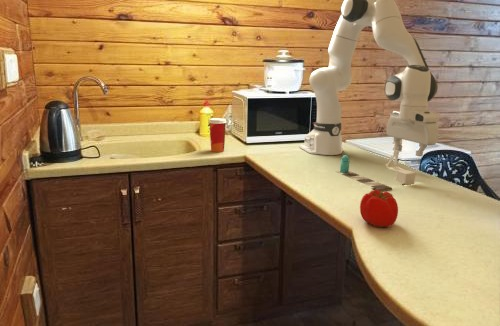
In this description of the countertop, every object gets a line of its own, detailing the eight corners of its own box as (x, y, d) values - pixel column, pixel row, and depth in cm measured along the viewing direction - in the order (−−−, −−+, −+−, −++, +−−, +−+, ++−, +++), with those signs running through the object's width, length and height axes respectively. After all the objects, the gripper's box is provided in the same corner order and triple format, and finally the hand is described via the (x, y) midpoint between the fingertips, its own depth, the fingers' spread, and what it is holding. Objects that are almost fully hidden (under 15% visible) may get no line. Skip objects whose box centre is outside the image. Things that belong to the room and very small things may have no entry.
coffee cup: (216, 148, 198) (216, 117, 194) (229, 150, 193) (230, 119, 190) (204, 151, 191) (204, 119, 188) (218, 153, 187) (218, 121, 183)
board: (334, 173, 158) (334, 171, 157) (347, 171, 160) (347, 170, 160) (378, 191, 137) (378, 189, 136) (391, 189, 139) (392, 187, 139)
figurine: (405, 173, 159) (410, 127, 155) (384, 172, 161) (388, 126, 156) (402, 168, 167) (407, 124, 162) (381, 167, 168) (386, 123, 164)
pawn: (338, 171, 158) (339, 154, 156) (345, 170, 159) (346, 154, 157) (343, 173, 155) (344, 156, 153) (350, 172, 156) (351, 155, 155)
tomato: (376, 234, 104) (379, 202, 101) (349, 219, 113) (351, 189, 111) (408, 228, 108) (411, 197, 105) (379, 214, 117) (382, 185, 115)
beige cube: (395, 182, 148) (396, 170, 147) (404, 181, 150) (406, 169, 149) (404, 186, 144) (406, 174, 143) (413, 184, 146) (415, 172, 145)
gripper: (384, 110, 148) (380, 147, 152) (430, 118, 130) (424, 160, 134) (397, 109, 151) (393, 146, 154) (444, 117, 133) (438, 158, 137)
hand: (408, 153), depth 144 cm, fingers open, 8 cm apart
